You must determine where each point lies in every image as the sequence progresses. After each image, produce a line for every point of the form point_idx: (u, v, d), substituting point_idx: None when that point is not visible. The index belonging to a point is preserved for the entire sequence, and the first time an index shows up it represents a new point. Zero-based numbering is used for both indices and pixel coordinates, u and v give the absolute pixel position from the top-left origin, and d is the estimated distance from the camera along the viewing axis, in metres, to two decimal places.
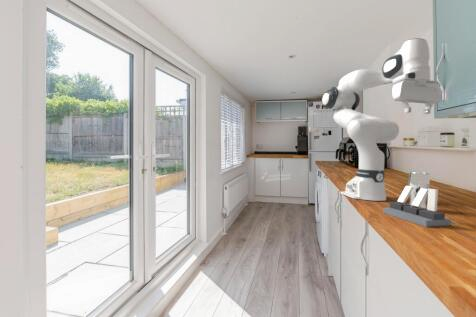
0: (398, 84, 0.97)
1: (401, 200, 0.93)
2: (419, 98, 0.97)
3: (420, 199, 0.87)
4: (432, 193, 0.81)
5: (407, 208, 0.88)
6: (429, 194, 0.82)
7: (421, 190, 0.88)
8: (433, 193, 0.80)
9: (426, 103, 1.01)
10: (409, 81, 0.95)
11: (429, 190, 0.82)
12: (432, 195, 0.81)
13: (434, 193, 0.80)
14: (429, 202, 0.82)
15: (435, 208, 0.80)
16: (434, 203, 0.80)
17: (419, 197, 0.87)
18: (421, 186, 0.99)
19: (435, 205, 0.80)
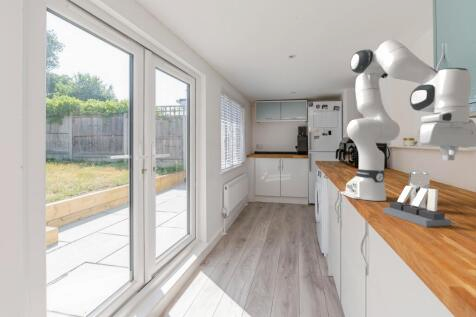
0: (429, 126, 0.79)
1: (401, 200, 0.93)
2: (452, 143, 0.80)
3: (420, 199, 0.87)
4: (432, 193, 0.81)
5: (407, 208, 0.88)
6: (429, 194, 0.82)
7: (421, 190, 0.88)
8: (433, 193, 0.80)
9: (450, 146, 0.82)
10: (443, 124, 0.77)
11: (429, 190, 0.82)
12: (432, 195, 0.81)
13: (434, 193, 0.80)
14: (429, 202, 0.82)
15: (435, 208, 0.80)
16: (434, 203, 0.80)
17: (419, 197, 0.87)
18: (421, 186, 0.99)
19: (435, 205, 0.80)
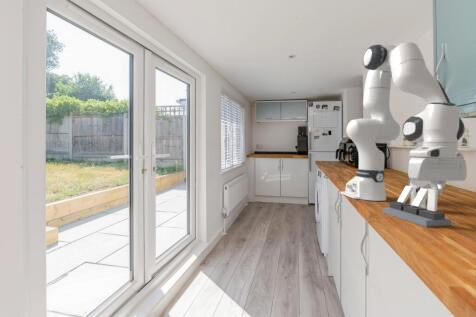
0: (417, 161, 0.78)
1: (401, 200, 0.93)
2: (441, 178, 0.79)
3: (420, 199, 0.87)
4: (432, 193, 0.81)
5: (407, 208, 0.88)
6: (429, 194, 0.82)
7: (421, 190, 0.88)
8: (433, 193, 0.80)
9: None
10: (431, 160, 0.77)
11: (429, 191, 0.82)
12: (432, 195, 0.81)
13: (434, 193, 0.80)
14: (429, 202, 0.82)
15: (435, 208, 0.80)
16: (434, 203, 0.80)
17: (419, 197, 0.87)
18: (421, 186, 0.99)
19: (435, 206, 0.80)
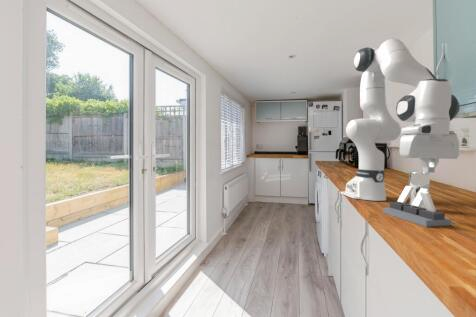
0: (408, 138, 0.77)
1: (401, 200, 0.93)
2: (432, 156, 0.78)
3: (420, 199, 0.87)
4: (425, 196, 0.80)
5: (407, 208, 0.88)
6: (422, 197, 0.81)
7: (421, 190, 0.88)
8: (426, 196, 0.80)
9: (430, 159, 0.81)
10: (422, 136, 0.76)
11: (421, 194, 0.81)
12: (426, 198, 0.80)
13: (427, 196, 0.80)
14: (426, 204, 0.81)
15: (434, 209, 0.80)
16: (431, 205, 0.80)
17: (419, 197, 0.87)
18: (421, 186, 0.99)
19: (432, 207, 0.80)
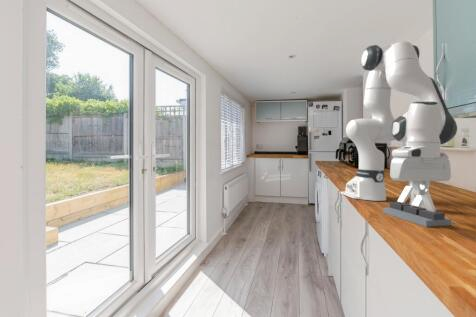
0: (398, 161, 0.77)
1: (401, 200, 0.93)
2: (423, 179, 0.78)
3: (420, 199, 0.87)
4: (425, 196, 0.80)
5: (407, 208, 0.88)
6: (422, 197, 0.81)
7: None
8: (426, 196, 0.80)
9: (421, 181, 0.81)
10: (412, 159, 0.76)
11: None
12: (426, 198, 0.80)
13: (427, 196, 0.80)
14: (426, 204, 0.81)
15: (434, 209, 0.80)
16: (431, 205, 0.80)
17: (419, 197, 0.87)
18: None
19: (432, 207, 0.80)
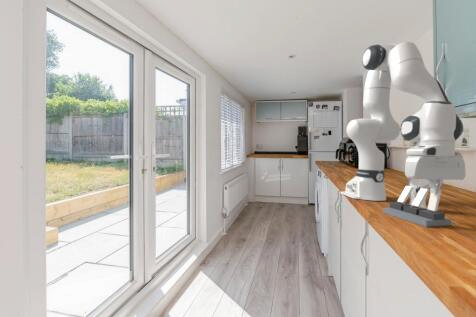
0: (413, 160, 0.78)
1: (401, 200, 0.93)
2: (438, 177, 0.79)
3: (420, 199, 0.87)
4: None
5: (407, 208, 0.88)
6: (432, 194, 0.82)
7: (421, 190, 0.88)
8: None
9: None
10: (427, 158, 0.77)
11: None
12: (435, 195, 0.81)
13: None
14: (430, 202, 0.82)
15: (436, 208, 0.80)
16: (436, 203, 0.80)
17: (419, 197, 0.87)
18: (421, 186, 0.99)
19: (436, 205, 0.80)
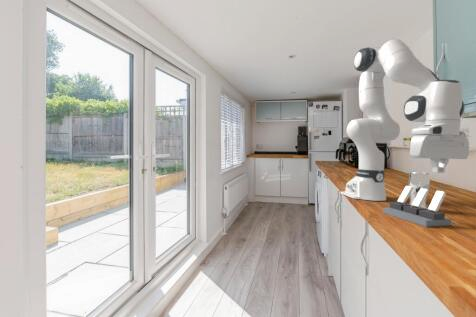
0: (419, 139, 0.78)
1: (401, 200, 0.93)
2: (442, 156, 0.79)
3: (420, 199, 0.87)
4: (439, 194, 0.81)
5: (407, 208, 0.88)
6: (435, 195, 0.82)
7: (421, 190, 0.88)
8: (440, 194, 0.81)
9: (440, 159, 0.82)
10: (433, 137, 0.77)
11: (437, 192, 0.82)
12: (438, 196, 0.81)
13: (441, 194, 0.81)
14: (432, 202, 0.82)
15: (437, 208, 0.80)
16: (438, 203, 0.80)
17: (419, 197, 0.87)
18: (421, 186, 0.99)
19: (437, 206, 0.80)
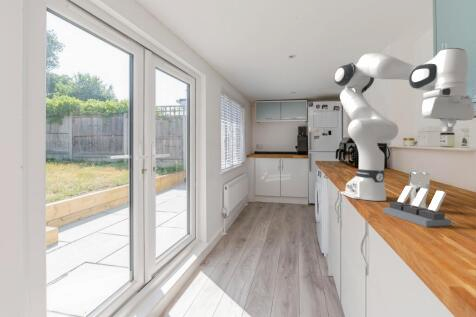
0: (430, 100, 0.88)
1: (401, 200, 0.93)
2: (451, 116, 0.89)
3: (420, 199, 0.87)
4: (439, 194, 0.81)
5: (407, 208, 0.88)
6: (436, 195, 0.82)
7: (421, 190, 0.88)
8: (440, 194, 0.81)
9: (449, 120, 0.92)
10: (443, 98, 0.87)
11: (437, 192, 0.82)
12: (438, 196, 0.81)
13: (441, 194, 0.81)
14: (433, 202, 0.82)
15: (437, 208, 0.80)
16: (438, 203, 0.80)
17: (419, 197, 0.87)
18: (421, 186, 0.99)
19: (437, 206, 0.80)
